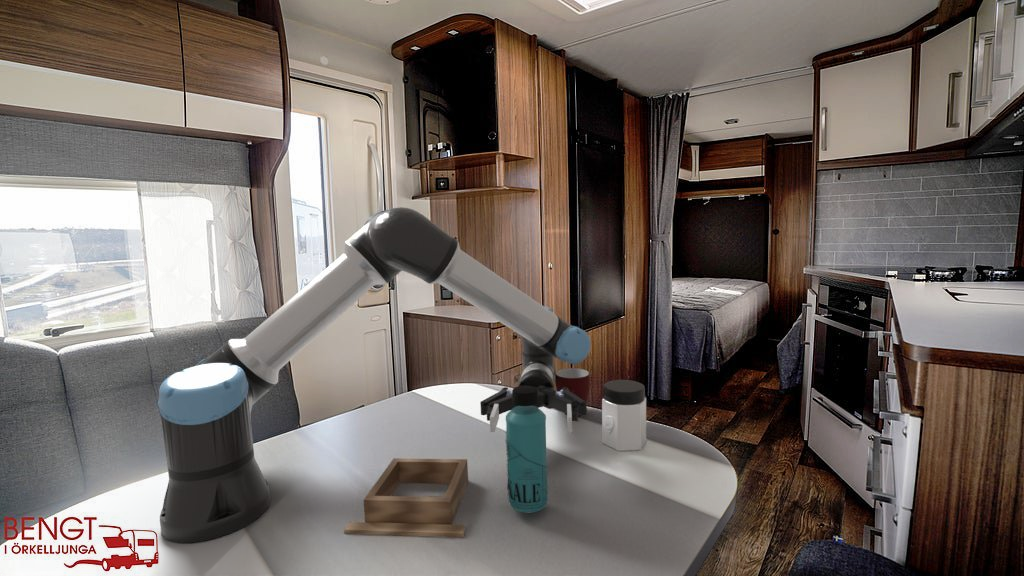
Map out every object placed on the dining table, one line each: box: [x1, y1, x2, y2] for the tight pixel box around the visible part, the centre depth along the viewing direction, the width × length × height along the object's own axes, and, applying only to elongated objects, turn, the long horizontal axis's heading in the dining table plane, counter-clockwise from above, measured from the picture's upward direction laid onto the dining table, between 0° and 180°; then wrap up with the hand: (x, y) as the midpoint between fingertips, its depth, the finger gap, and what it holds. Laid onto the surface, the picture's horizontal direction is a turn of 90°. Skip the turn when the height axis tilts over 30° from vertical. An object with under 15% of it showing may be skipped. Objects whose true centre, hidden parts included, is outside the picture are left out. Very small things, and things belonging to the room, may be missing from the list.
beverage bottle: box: [505, 385, 549, 514], centre depth 74 cm, size 6×7×20 cm
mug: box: [554, 367, 591, 417], centre depth 113 cm, size 10×8×10 cm
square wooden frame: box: [343, 457, 469, 538], centre depth 78 cm, size 18×16×4 cm
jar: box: [601, 379, 647, 452], centre depth 98 cm, size 9×8×12 cm
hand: (530, 424), depth 84 cm, fingers open, 13 cm apart
